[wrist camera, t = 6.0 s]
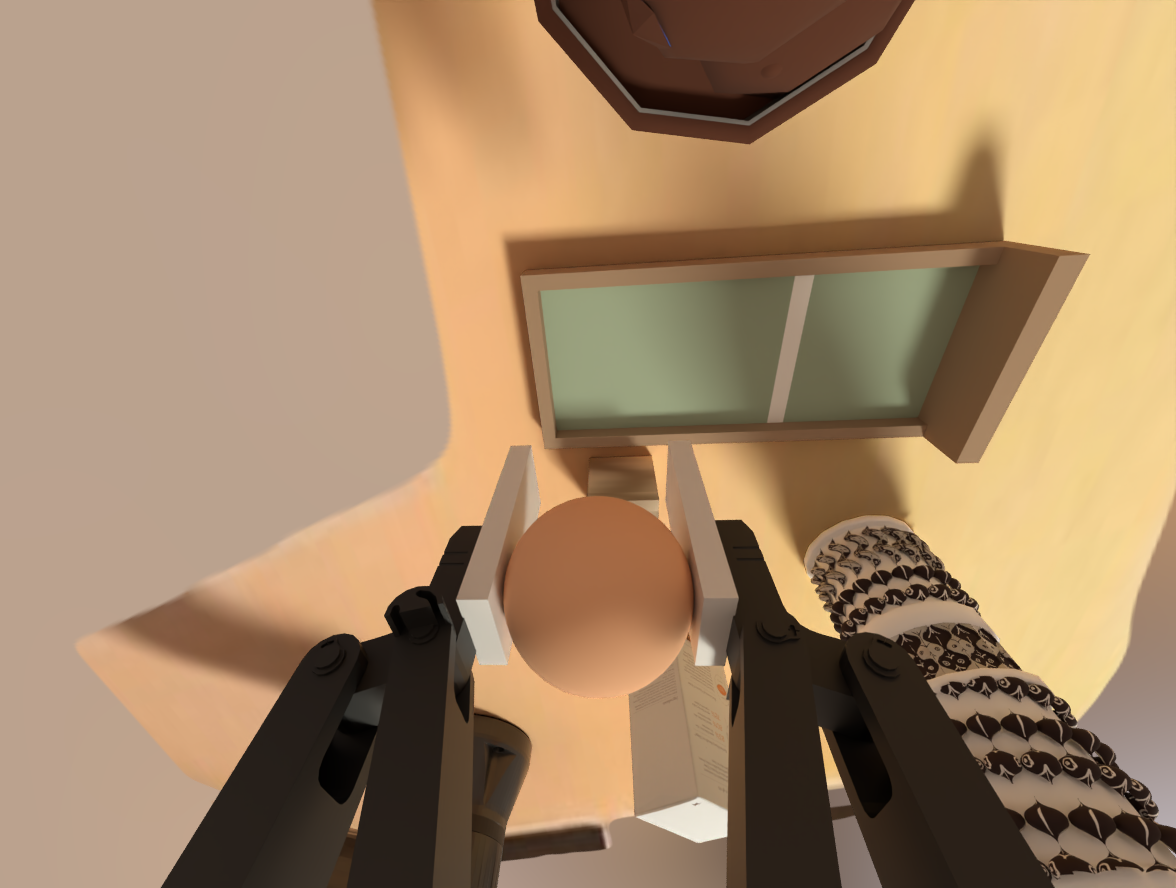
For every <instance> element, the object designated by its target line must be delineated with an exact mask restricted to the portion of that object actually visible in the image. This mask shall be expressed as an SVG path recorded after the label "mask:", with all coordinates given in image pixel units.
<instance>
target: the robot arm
mask: <svg viewBox="0 0 1176 888" xmlns="http://www.w3.org/2000/svg"><path fill="white" fill-rule="evenodd" d="M540 503H541V502H540V496H539V489H538V483H537V477H536V471H535V465H534V459H533V453H532V446H531V445H527V446H511V447H510V450H509V453H508V455H507V458H506V461H505V464H504V467H503V469H502V472H501V475H500V478H499V481H498V483H497V486H496V489H495V492H494V495H493V497H492V500H491V503H490V506H489V509H488V511H487V514H486V517H485V520H484V523H483V525H482V526H461V527H460V528H459V530H458V531H457V532H456V533H455V534H454V535H453V536H452V537H451V538H450V540H449V542H448V544H447V547H446V549H445V551H444V555H443V556H442V558H441V560H440V563H439V566H438V567H437V570H436V572H435V574H434V577H433V579H432V581H431V584H430V586H418V587H415V588H412V589H409V590H406V591H405V592H403V593H402V594H400V595H399V596H397V597H396V598H395V599H394V600H393V602H392V603H391V604H390V605H389V606H388V608H387V610H386V613H385V615H384V617H385V618H386V620H387V622H388V624H389V626H390V628H391V630H392V632H393V633H390V634H388V635H385V636H382V637H378V638H375V639H372V640H368V641H365V642H362V643H360V642H359V640H358V639H357V638H356V637H355V636H354V635H350V634H345V633H344V634H338V635H333V636H331V637H329V638H327V639H325V640H323V641H321V642H320V643H318V644H317V645H316V646H314V647H313V648H312V649H311V650H310V651H309V652H308V653H307V655H306V656H305V657H304V658H303V659H302V661H301V663H300V664H299V666H298V667H297V669H296V671H295V672H294V674H293V675H292V677H291V679H290V680H289V682H288V684H287V685H286V687H285V688H284V690H283V692H282V693H281V695H280V696H279V698H278V700H277V701H276V703H275V704H274V706H273V708H272V709H271V711H270V713H269V714H268V716H267V717H266V719H265V721H264V722H263V724H262V725H261V727H260V729H259V730H258V732H257V734H256V735H255V737H254V738H253V740H252V742H251V743H250V745H249V746H248V748H247V750H246V751H245V753H244V754H243V756H242V758H241V759H240V761H239V763H238V764H237V766H236V767H235V769H234V771H233V772H232V774H231V775H230V777H229V779H228V780H227V782H226V784H225V785H224V787H223V788H222V790H221V792H220V793H219V795H218V797H217V798H216V800H215V801H214V803H213V804H212V806H211V808H210V809H209V811H208V813H207V814H206V816H205V817H204V819H203V821H202V822H201V824H200V825H199V827H198V829H197V830H196V832H195V834H194V835H193V837H192V838H191V840H190V842H189V843H188V845H187V846H186V848H185V850H184V851H183V853H182V854H181V856H180V858H179V859H178V861H177V863H176V864H175V866H174V867H173V869H172V871H171V872H170V874H169V875H168V877H167V879H166V880H165V882H164V884H163V885H162V887H161V888H497V884H498V877H499V870H500V863H501V857H502V850H503V843H504V837H505V830H506V825H507V821H508V819H509V816H510V814H511V811H512V809H513V806H514V804H515V802H516V799H517V797H518V794H519V792H520V789H521V787H522V784H523V782H524V779H525V777H526V775H527V772H528V769H529V765H530V757H531V750H532V745H531V742H530V740H529V738H528V737H527V736H526V735H525V734H524V733H523V732H522V731H520V730H519V729H517V728H516V727H514V726H512V725H510V724H508V723H505V722H503V721H500V720H497V719H493V718H489V717H485V716H479V715H474V678H473V673H472V671H471V669H472V665H473V662H474V658H475V654H476V656H477V659H478V661H479V664H480V665H508V660H509V655H510V650H511V645H512V638H511V635H510V633H509V630H508V627H507V624H506V618H505V612H504V606H503V589H504V580H505V575H506V570H507V567H508V564H509V560H510V558H511V555H512V553H513V551H514V549H515V547H516V545H517V543H518V542H519V540H520V539H521V537H522V536H523V534H524V533H525V532H526V530H527V529H528V528H529V527H530V526H531V525H532V524H533V523H534V522H535V521H536V520H537V518H538V513H539V508H540ZM666 505H667V511H668V516H669V522H670V528H671V533H672V534H673V535H674V537H675V538H676V540H677V541H678V543H679V544H680V546H681V548H682V550H683V552H684V554H685V556H686V559H687V561H688V564H689V567H690V570H691V575H692V581H693V588H694V610H693V616H692V621H691V626H690V629H689V635H690V640H691V646H692V652H693V657H694V663H695V666H725V663H726V658H727V656H728V660H729V664H730V669H731V673H732V675H731V680H730V684H729V689H728V693H727V698H726V700H729V756H728V821H727V886H726V887H727V888H842V886H841V880H840V873H839V866H838V859H837V852H836V845H835V838H834V831H833V824H832V817H831V810H830V803H829V796H828V789H827V782H826V775H825V768H824V761H823V754H822V748H821V741H820V734H819V727H818V726H820V727H822V729H823V732H824V734H825V737H826V740H827V742H828V745H829V748H830V750H831V753H832V755H833V758H834V761H835V763H836V766H837V769H838V771H839V774H840V777H841V779H842V782H843V785H844V787H845V790H846V792H847V795H848V798H849V800H850V803H851V806H852V808H853V811H854V814H855V816H856V819H857V821H858V824H859V827H860V829H861V832H862V834H863V837H864V840H865V842H866V845H867V848H868V851H869V853H870V856H871V859H872V861H873V864H874V867H875V869H876V872H877V874H878V877H879V880H880V883H881V885H882V888H1055V887H1054V885H1053V884H1052V882H1051V881H1050V879H1049V877H1048V876H1047V874H1046V872H1045V871H1044V869H1043V868H1042V866H1041V864H1040V863H1039V861H1038V860H1037V858H1036V856H1035V855H1034V853H1033V852H1032V850H1031V848H1030V847H1029V845H1028V843H1027V842H1026V840H1025V839H1024V837H1023V835H1022V834H1021V832H1020V831H1019V829H1018V827H1017V826H1016V824H1015V822H1014V821H1013V819H1012V818H1011V816H1010V814H1009V813H1008V811H1007V810H1006V808H1005V806H1004V805H1003V803H1002V801H1001V800H1000V798H999V797H998V795H997V793H996V792H995V790H994V789H993V787H992V785H991V784H990V782H989V781H988V779H987V777H986V776H985V774H984V772H983V771H982V769H981V768H980V766H979V764H978V763H977V761H976V760H975V758H974V756H973V755H972V753H971V751H970V750H969V748H968V747H967V745H966V743H965V742H964V740H963V739H962V737H961V735H960V734H959V732H958V730H957V729H956V727H955V726H954V724H953V722H952V721H951V719H950V718H949V716H948V714H947V713H946V711H945V710H944V708H943V706H942V705H941V703H940V701H939V700H938V698H937V697H936V695H935V693H934V692H933V690H932V689H931V687H930V685H929V684H928V682H927V680H926V679H925V677H924V676H923V674H922V672H921V671H920V669H919V668H918V666H917V664H916V663H915V661H914V660H913V659H912V657H911V656H910V655H909V654H908V653H907V651H906V650H905V649H903V648H902V647H901V646H899V645H898V644H897V643H895V642H894V641H893V640H891V639H889V638H886V637H884V636H882V635H880V634H876V633H870V632H862V633H856V634H854V635H853V636H852V637H850V638H849V639H848V640H847V641H844V640H840V639H837V638H833V637H829V636H826V635H822V634H819V633H816V632H814V631H811V630H809V629H807V628H805V627H804V626H802V625H800V624H799V622H798V621H797V620H796V619H795V618H794V617H793V616H792V615H790V614H789V613H788V612H787V611H786V609H785V607H784V606H783V604H782V601H781V599H780V596H779V594H778V592H777V589H776V587H775V584H774V582H773V579H772V577H771V574H770V572H769V569H768V567H767V565H766V562H765V561H764V557H763V555H762V552H761V550H760V549H759V545H758V542H757V540H756V537H755V535H754V533H753V531H752V530H751V529H750V528H749V527H748V526H747V525H746V524H745V523H744V522H743V521H742V520H714V516H713V513H712V510H711V507H710V503H709V500H708V497H707V494H706V491H705V487H704V484H703V481H702V478H701V474H700V471H699V468H698V465H697V461H696V458H695V455H694V452H693V448H692V445H691V442H690V440H685V441H668V460H667V481H666ZM365 787H366V790H365ZM364 790H365V795H364V800H363V806H362V811H361V816H360V821H359V826H358V830H357V829H352V828H350V826H351V823H352V821H353V818H354V816H355V813H356V810H357V808H358V805H359V803H360V800H361V797H362V795H363V792H364Z"/></svg>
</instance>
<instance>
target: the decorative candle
mask: <svg viewBox="0 0 1176 888" xmlns="http://www.w3.org/2000/svg"><path fill="white" fill-rule="evenodd" d="M804 564H805V569H806V573H807V575H808V576H809V577H810V578H811V582H812V583H813V584H817V585H819V586H818V587H817V588H816V589H815V592H816V593H817V594H820V595H819V599H820V600H821V601H825V602H826V603H825V605H824V606H823V608H824V610H825V611H828V612H831V615H830V619H831V621H832V622H833V623H834V628H835V630H836V631H837V632H838V633H840V639H841V640H844V641H847V640H848V639H849V638H850V637H852V636H853V635H854V634H856V633H862V632H870V633H876V634H880V635H882V636H884V637H886V638H889V639H891V640H893V641H894V642H895V643H897V644H898V645H899V646H901V647H902V648H903V649H905V650H906V651H907V653H908V654H909V655H910V656H911V657H912V659H913V660H914V661H915V663H916V664H917V666H918V668H919V669H920V671H921V672H922V674H923V676H924V677H925V679H926V680H927V682H928V684H929V685H930V687H931V689H932V690H933V692H934V693H935V695H936V697H937V698H938V700H939V701H940V703H941V705H942V706H943V708H944V710H945V711H946V713H947V714H948V716H949V718H950V719H951V721H952V722H953V724H954V726H955V727H956V729H957V730H958V732H959V734H960V735H961V737H962V739H963V740H964V742H965V743H966V745H967V747H968V748H969V750H970V751H971V753H972V755H973V756H974V758H975V760H976V761H977V763H978V764H979V766H980V768H981V769H982V771H983V772H984V774H985V776H986V777H987V779H988V781H989V782H990V784H991V785H992V787H993V789H994V790H995V792H996V793H997V795H998V797H999V798H1000V800H1001V801H1002V803H1003V805H1004V806H1005V808H1006V810H1007V811H1008V813H1009V814H1010V816H1011V818H1012V819H1013V821H1014V822H1015V824H1016V826H1017V827H1018V829H1019V831H1020V832H1021V834H1022V835H1023V837H1024V839H1025V840H1026V842H1027V843H1028V845H1029V847H1030V848H1031V850H1032V852H1033V853H1034V855H1035V856H1036V858H1037V860H1038V861H1039V863H1040V864H1041V866H1042V868H1043V869H1044V871H1045V872H1046V874H1047V876H1048V877H1049V879H1050V881H1051V882H1052V884H1053V885H1054V887H1055V888H1176V857H1175V856H1174V855H1173V854H1172V853H1171V851H1173V852H1174V853H1175V854H1176V828H1173V827H1169V826H1164V825H1160V824H1158V823H1156V822H1155V821H1154V820H1155V819H1156V817H1157V816H1158V813H1159V810H1158V807H1157V805H1156V804H1155V803H1154V802H1153V801H1152V800H1151V799H1152V796H1151V793H1150V791H1149V790H1148V788H1147V787H1146V786H1144V785H1143V784H1142V783H1140V782H1139V781H1137V780H1134V779H1131V778H1130V777H1129V776H1128V775H1127V774H1126V773H1125V772H1124V771H1122V770H1120V769H1119V767H1118V765H1117V764H1116V763H1115V760H1116V755H1115V753H1114V751H1113V750H1112V749H1111V748H1110V747H1109V746H1107V745H1106V744H1103V743H1101V742H1100V740H1099V739H1098V737H1097V736H1095V734H1093V733H1092V732H1090V731H1087V730H1084V729H1079V728H1077V721H1076V719H1075V717H1074V716H1073V715H1072V714H1070V713H1071V709H1070V706H1069V705H1068V703H1067V702H1066V701H1064V700H1063V699H1061V698H1059V697H1056V696H1055V695H1054V694H1053V692H1052V691H1051V690H1050V689H1049V688H1048V687H1047V685H1046V684H1045V683H1044V682H1043V681H1042V680H1041V678H1040V677H1039V676H1037V675H1033V674H1030V673H1027V672H1024V671H1022V670H1021V668H1020V667H1019V666H1018V665H1017V664H1016V662H1015V661H1014V660H1013V659H1012V658H1011V657H1010V655H1009V654H1008V653H1007V652H1006V651H1005V650H1004V648H1003V647H1002V646H1001V645H1000V644H999V642H1000V639H999V638H998V636H997V635H996V634H995V633H994V632H993V631H992V629H991V628H990V627H989V626H988V625H987V624H986V622H985V621H984V620H983V619H982V618H981V615H980V613H979V612H978V611H977V610H978V609H979V605H978V603H977V602H976V601H975V600H974V599H972V598H970V597H969V595H968V594H967V593H966V592H965V591H963V590H961V589H960V588H961V584H960V583H959V581H958V580H956V579H954V578H951V575H950V573H948V572H947V571H945V567H944V564H943V562H942V561H941V560H940V559H939V558H938V557H937V556H935V555H934V554H933V553H932V552H931V551H930V549H929V547H928V545H927V544H926V543H925V542H924V541H922V540H921V539H920V538H919V537H918V536H917V535H916V534H915V533H914V532H913V531H912V530H911V529H910V527H909V526H908V525H907V524H906V523H905V522H904V521H901V520H898V519H895V518H893V517H890V516H887V515H864V516H860V517H856V518H852V519H849V520H845V521H841V522H840V523H838V524H836V525H834V526H832V527H830V528H829V529H827V530H825V531H823V532H822V533H821V534H820V535H819V536H818V537H817V538H816V539H815V540H814V541H813V542H812V543H811V544H810V545H809V546H808V549H807V552H806V555H805V557H804ZM947 584H948V585H949V586H950V588H951V589H950V588H949V586H948V585H947ZM964 604H965V605H964ZM1052 707H1053V708H1054V709H1055V710H1053V711H1052ZM1094 751H1095V753H1096V754H1097V755H1098V756H1099V757H1093V756H1092V753H1093V752H1094ZM1089 754H1090V755H1091V756H1090V755H1089ZM1127 791H1129V792H1130V793H1127ZM1124 795H1125V796H1124ZM1125 797H1126V798H1125ZM1168 848H1169V849H1170V850H1171V851H1170V850H1169V849H1168Z"/></svg>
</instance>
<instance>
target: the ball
mask: <svg viewBox="0 0 1176 888" xmlns="http://www.w3.org/2000/svg"><path fill="white" fill-rule="evenodd" d="M503 606H504V612H505V618H506V624H507V627H508V630H509V633H510V635H511V638H512V641H513V643H514V644H515V646H516V648H517V650H518V652H519V653H520V655H521V657H522V658H523V659H524V661H525V662H526V663H527V664H528V666H529V667H530V668H531V669H532V670H533V671H534V672H535V673H536V674H537V675H539V676H540V677H541V678H542V679H543V680H544V681H546V682H547V683H549V684H550V685H552V686H554V687H556V688H558V689H559V690H561V691H563V692H566V693H568V694H571V695H575V696H579V697H584V698H593V699H606V698H615V697H620V696H624V695H628V694H630V693H633V692H635V691H637V690H639V689H641V688H643V687H645V686H647V685H648V684H650V683H651V682H653V681H654V680H655V679H656V678H658V677H659V676H660V675H661V674H663V673H664V672H665V671H666V669H667V668H668V667H669V666H670V665H671V664H672V662H673V661H674V660H675V658H676V657H677V655H678V654H679V652H680V650H681V648H682V647H683V645H684V643H685V640H686V638H687V635H688V632H689V629H690V626H691V621H692V616H693V610H694V588H693V581H692V575H691V570H690V567H689V564H688V561H687V559H686V556H685V554H684V552H683V550H682V548H681V546H680V544H679V543H678V541H677V540H676V538H675V537H674V535H673V534H672V533H671V531H670V530H669V529H668V528H667V527H666V526H665V525H664V524H663V523H662V522H661V521H660V520H659V519H658V518H657V517H655V516H654V515H653V514H652V513H650V512H649V511H647V510H645V509H644V508H642V507H640V506H638V505H636V504H634V503H632V502H629V501H626V500H623V499H619V498H614V497H607V496H589V497H582V498H577V499H573V500H570V501H567V502H565V503H562V504H560V505H558V506H556V507H554V508H552V509H551V510H549V511H547V512H546V513H545V514H543V515H542V516H541V517H539V518H538V519H537V520H536V521H535V522H534V523H533V524H532V525H531V526H530V527H529V528H528V529H527V530H526V532H525V533H524V534H523V536H522V537H521V539H520V540H519V542H518V543H517V545H516V547H515V549H514V551H513V553H512V555H511V558H510V560H509V564H508V567H507V570H506V575H505V580H504V589H503Z"/></svg>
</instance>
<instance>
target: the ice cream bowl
mask: <svg viewBox="0 0 1176 888" xmlns="http://www.w3.org/2000/svg"><path fill="white" fill-rule="evenodd" d="M914 1H915V0H534V2H535V7H536V11H537V16H538V21H539V22H540V24H541V25H542V26H543V27H544V28H545V29H546V31H547V32H548V33H549V34H550V35H551V36H552V38H553V39H554V40H555V41H556V42H557V43H558V44H559V46H560V47H561V48H562V49H563V50H564V51H565V53H566V54H567V55H568V56H569V57H570V58H571V60H572V61H573V62H574V63H575V64H576V65H577V67H578V68H579V69H580V70H581V71H582V72H583V74H584V75H585V76H586V77H587V78H588V79H589V81H590V82H591V83H592V84H593V85H594V86H595V88H596V89H597V90H598V91H599V92H600V93H601V94H602V96H603V97H604V98H605V99H606V100H607V101H608V103H609V104H610V105H611V106H612V107H613V108H614V110H615V111H616V112H617V113H618V114H619V115H620V117H621V118H622V119H623V120H624V121H625V122H626V124H627V125H628V126H629V127H630V128H631V129H632V130H636V131H644V132H652V133H660V134H669V135H677V136H685V137H694V138H702V139H710V140H719V141H727V142H735V143H743V144H751V143H752V142H754V141H755V140H757V139H759V138H760V137H762V136H763V135H765V134H766V133H768V132H770V131H771V130H773V129H774V128H776V127H777V126H779V125H781V124H782V123H784V122H785V121H787V120H788V119H790V118H791V117H793V116H795V115H796V114H798V113H799V112H801V111H802V110H804V109H806V108H807V107H809V106H810V105H812V104H813V103H815V102H817V101H818V100H820V99H821V98H823V97H824V96H826V95H828V94H829V93H831V92H832V91H834V90H835V89H837V88H839V87H840V86H842V85H843V84H845V83H846V82H848V81H850V80H851V79H853V78H854V77H856V76H857V75H859V74H861V73H862V72H864V71H865V70H867V69H868V68H870V67H872V66H873V65H875V64H876V63H877V61H878V60H879V58H880V56H881V55H882V53H883V51H884V50H885V48H886V47H887V45H888V43H889V42H890V40H891V38H892V37H893V35H894V33H895V32H896V30H897V29H898V27H899V25H900V24H901V22H902V20H903V19H904V17H905V15H906V14H907V12H908V11H909V9H910V7H911V6H912V4H913V2H914Z"/></svg>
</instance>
